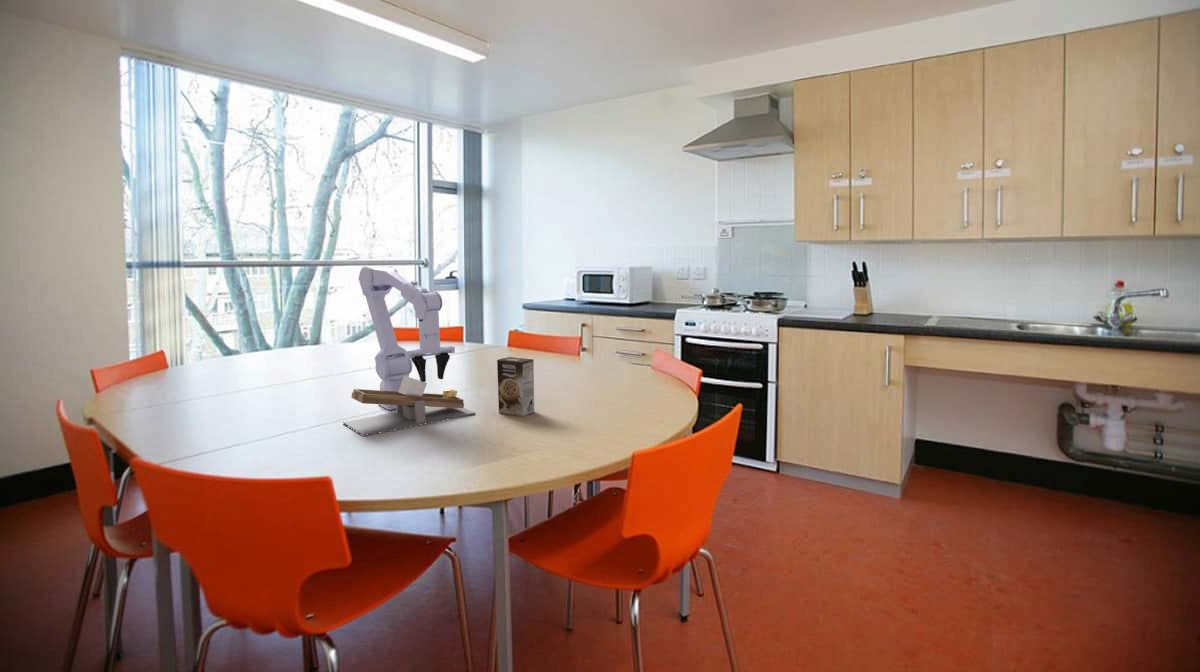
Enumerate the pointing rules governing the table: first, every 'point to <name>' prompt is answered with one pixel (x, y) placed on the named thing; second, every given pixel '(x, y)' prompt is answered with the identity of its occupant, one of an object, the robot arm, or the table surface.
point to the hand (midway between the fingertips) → (431, 380)
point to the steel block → (412, 387)
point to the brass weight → (449, 394)
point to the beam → (404, 399)
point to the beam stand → (406, 418)
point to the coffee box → (515, 386)
